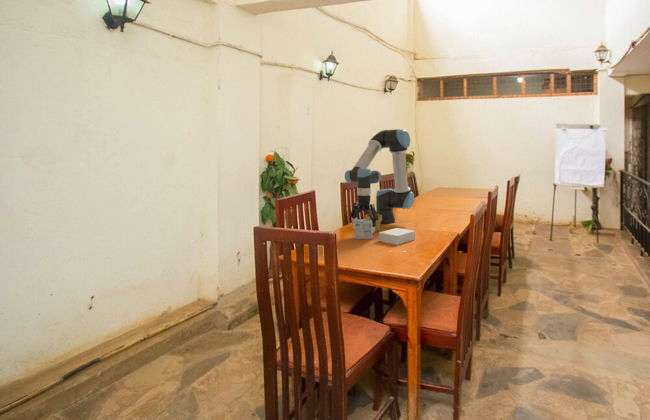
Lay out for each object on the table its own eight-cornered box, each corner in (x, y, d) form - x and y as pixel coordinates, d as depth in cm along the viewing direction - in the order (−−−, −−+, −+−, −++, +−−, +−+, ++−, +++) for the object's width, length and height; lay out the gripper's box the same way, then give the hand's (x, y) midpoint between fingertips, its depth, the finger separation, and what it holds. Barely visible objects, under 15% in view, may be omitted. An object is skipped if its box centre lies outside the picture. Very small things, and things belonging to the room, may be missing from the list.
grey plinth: (378, 241, 229) (378, 232, 228) (396, 236, 241) (396, 227, 240) (397, 244, 220) (397, 235, 219) (415, 239, 232) (415, 230, 231)
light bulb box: (373, 236, 240) (373, 218, 239) (373, 239, 234) (373, 221, 232) (355, 236, 242) (355, 218, 240) (354, 239, 235) (354, 221, 233)
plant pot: (377, 232, 251) (377, 217, 249) (362, 231, 256) (362, 216, 255) (384, 229, 259) (384, 214, 258) (369, 228, 265) (369, 213, 263)
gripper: (343, 193, 240) (344, 228, 243) (376, 197, 222) (376, 234, 225) (352, 192, 245) (352, 226, 248) (385, 196, 227) (384, 232, 230)
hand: (363, 230), depth 237 cm, fingers open, 13 cm apart
